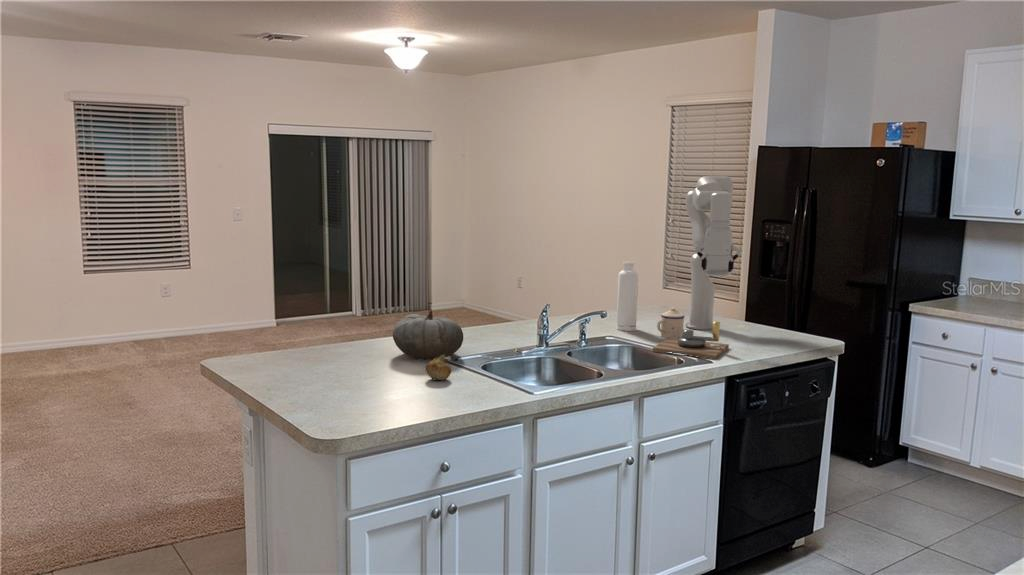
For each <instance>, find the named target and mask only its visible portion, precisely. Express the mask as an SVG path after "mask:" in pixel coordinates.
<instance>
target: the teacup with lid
mask: <svg viewBox="0 0 1024 575" xmlns="http://www.w3.org/2000/svg"><path fill="white" fill-rule="evenodd" d="M660 316H661V319H660V320H659V321H657V324H656V328H657V330H658V331H659V332H660V336H661V338H662V339H663V338H664V339H667V338H669V337H670V338H678V337H681V336H682V331H683V330H684V320H685V315H684V313H681V312H679V311H678V310H676V307H671V308H670V309H669V310H667V311H665V312H662V313H661V314H660Z"/></svg>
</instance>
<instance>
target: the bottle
mask: <svg viewBox="0 0 1024 575" xmlns="http://www.w3.org/2000/svg"><path fill="white" fill-rule="evenodd" d="M622 264H623V268H622V270H621V271H619V272H618V275H617V302H616V306H617V307H616V328H617V329H619V330H618V331H621V330H625V331H624V332H633V331H632V330H634V331H637V317H638V315H637V313H638V311H637V310H638V290H639V289H638V288H639V287H638V286H639V274H638V272H637V271H636V270H635V268H634V265H635V261H629V260H628V261H627V260H626V261H623V262H622ZM617 329H616V330H617Z"/></svg>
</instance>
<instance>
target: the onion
mask: <svg viewBox="0 0 1024 575" xmlns="http://www.w3.org/2000/svg"><path fill="white" fill-rule="evenodd" d="M445 356H446V355H441V356H440V357H438V358H435V359H431V360H430V361H429V362H428V363H427V364H426V365H425V373H426V374H427V375H428V377H429V378H431V380H433V379H435V380H434V381H436V380H441V381H445V380H447V379H448V378H449V377H450V375H451V373H452V369H451V366H450V364H449V363H448V362H449V361H451V359H452V358H451V356H449V357H445ZM444 379H445V380H444Z"/></svg>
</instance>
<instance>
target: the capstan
mask: <svg viewBox="0 0 1024 575" xmlns="http://www.w3.org/2000/svg"><path fill="white" fill-rule="evenodd" d="M720 323H721V322H720V321H713V329H712V332H711V334H712V335H711V336H700V335H699V336H697V335H694V329H683V331H682V336H681V337H678V344H679V345H681V346H686V347H703V346H705V343H706V342H715V343H718V342H719V341H720V327H721V324H720Z"/></svg>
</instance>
